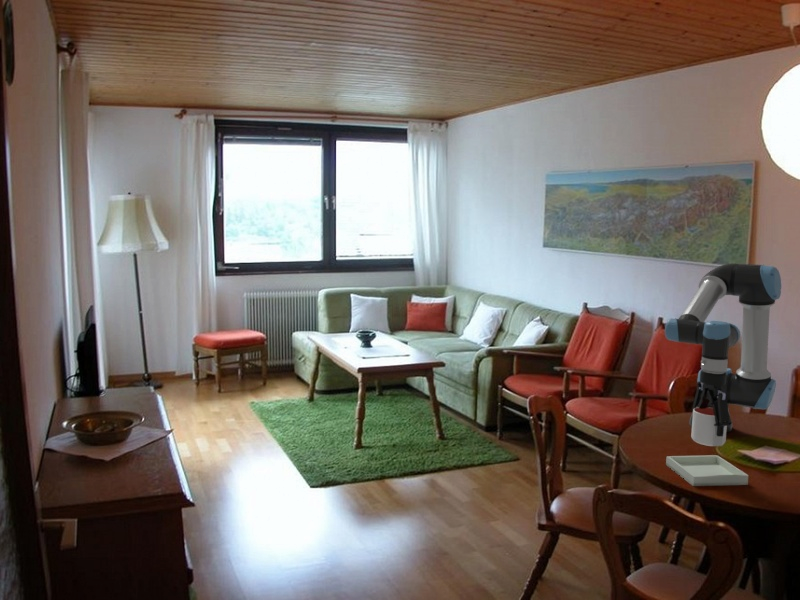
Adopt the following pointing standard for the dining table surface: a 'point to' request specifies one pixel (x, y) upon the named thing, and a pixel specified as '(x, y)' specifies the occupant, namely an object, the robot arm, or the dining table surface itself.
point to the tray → (706, 470)
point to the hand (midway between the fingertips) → (708, 439)
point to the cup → (704, 426)
